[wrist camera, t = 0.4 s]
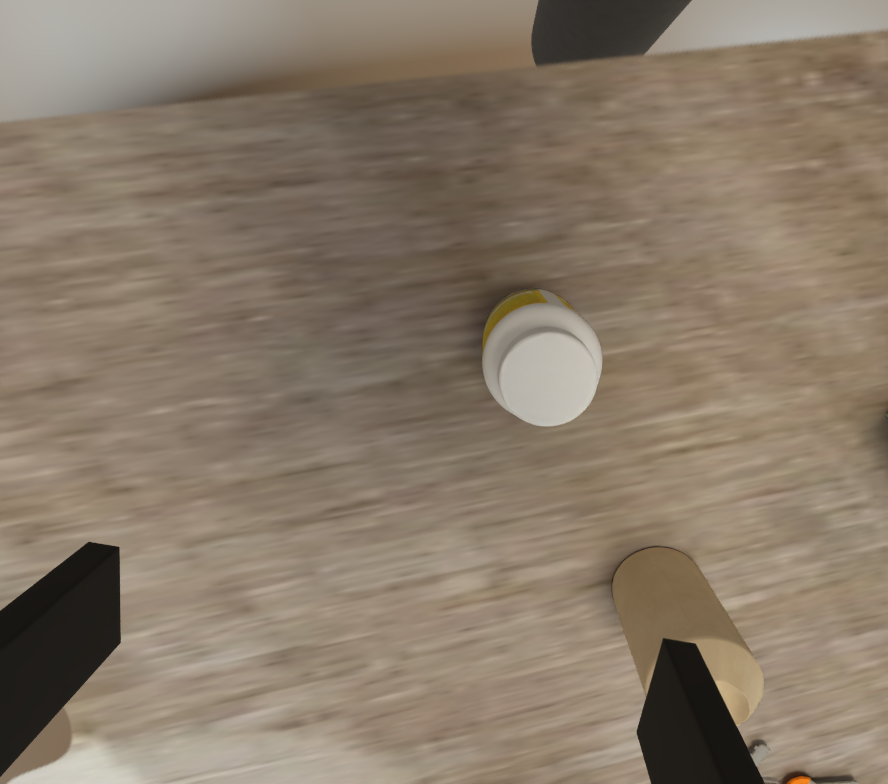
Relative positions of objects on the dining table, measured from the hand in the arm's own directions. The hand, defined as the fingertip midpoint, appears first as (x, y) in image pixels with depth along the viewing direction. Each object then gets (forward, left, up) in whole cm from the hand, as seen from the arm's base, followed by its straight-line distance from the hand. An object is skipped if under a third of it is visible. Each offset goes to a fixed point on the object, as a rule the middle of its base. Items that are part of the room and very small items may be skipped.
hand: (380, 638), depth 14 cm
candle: (-2, +17, -21) cm, 28 cm away
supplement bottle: (-6, 0, -21) cm, 22 cm away
